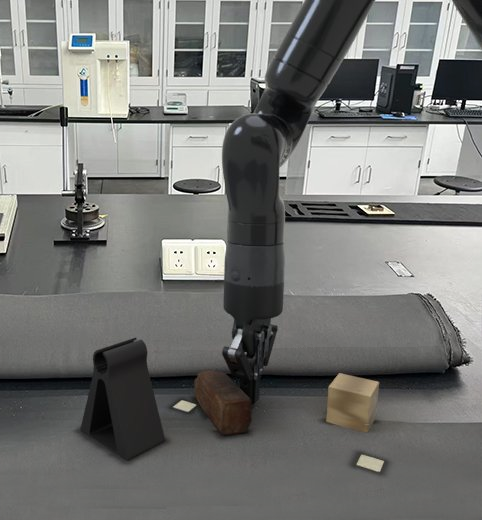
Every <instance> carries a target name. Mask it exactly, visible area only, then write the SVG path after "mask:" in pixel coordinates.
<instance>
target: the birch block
mask: <svg viewBox="0 0 482 520" xmlns="http://www.w3.org/2000/svg"><path fill="white" fill-rule="evenodd" d="M379 390H380V381H376V380H372V379H369V378H368V379H367V378H363V377H360V376H359V377H358V376H354V375H350V374H346V373H341V372H339V373H338V374H337V376H336V377H335V378H334V379H333V381H332V382H331V383H329V385H328V390H327V405H326V416H325V417H326V419H325V422H326V423H328V424H332V425H337V426H340V427H343V428H347V429H351V430H354V431H358V432H361V433H365V434H368V433H369V431H370V429H371V427H372V426H373V423H374V421H376V418H377V410H378V399H379ZM365 424H369V425H365Z"/></svg>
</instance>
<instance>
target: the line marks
mask: <svg viewBox="0 0 482 520" xmlns="http://www.w3.org/2000/svg"><path fill="white" fill-rule="evenodd" d="M195 407H197V404H196V403H192V402H189V401H186V400H183V399H182V400H180V401H179V402H177V403H176V404H175V405H174V406H172V408H174V409H177V410H179V411H183V412H185V413H189V412H190V411H192V410H193V409H195ZM384 463H385V461H384V460H381V459H378V458H375V457H372V456H368V455H365V454H360V457H359V459H358V460H357V463H356V466H358V467H362V468H365V469H368V470H371V471H374V472H377V473H380V472H381V470H382V468H383V466H384Z"/></svg>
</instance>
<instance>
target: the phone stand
mask: <svg viewBox="0 0 482 520" xmlns="http://www.w3.org/2000/svg"><path fill="white" fill-rule="evenodd" d="M92 365H93V371H92V372H93V373H92V378H91V382H90V386H89V390H88V395H87V399H86V402H85V408H84V412H83V416H82V419H81V421H82V422H81V425H80V428H79V429H80V432H81V433H83V434H85V435H86V436H88V437H89V438H91V439H92V440H94V441H95V442H97V443H98V444H100V445H101V446H103V447H105V448H107V449H108V450H109V451H111V452H112V453H114V454H116V455H118V456H119V457H121V459H124V460H125V461H126V462H129V461H130V460H132V459H134V458H136V457H138V456H139V455H141V454H143V453H145V452H147V451H149V450H151V449H152V448H155V447H157V446H159V445H160V444H162V443H164V442H166V437H165V433H164V429H163V426H162V425H163V424H162V421H161V417H160V413H159V409H158V405H157V400H156V397H155V392H154V388H153V384H152V379H151V376H150V372H149V368H148V348H147V345H146V343H145V342H144V340H143V339H142V338H140V339H137V337H133V338H129V339H126V340H124V341H121V342H117V343H115V344H112V345H108V346H106V347H102V348H99V349H96V350H95V351H94V352H93V355H92Z"/></svg>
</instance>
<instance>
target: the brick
mask: <svg viewBox="0 0 482 520" xmlns="http://www.w3.org/2000/svg"><path fill="white" fill-rule="evenodd" d="M196 376H197V377H195V379H194V382H193V383H194V384H193V386H194V394H193V395H194V397H195V399H196V401H197V402H198V404H199V406H200V407H201V409H202V410H203V412H204V413H205V414H206V416H207V417H208V418H209V420H210V421H211V423H212V424H213V426H214V428H216V429H217V431H218V433H220V435H221V436H223V437H226V436H233V435H241V434H242V435H243V434H247V433H248V431H249V427H250V424H251V423H252V418H253V417H252V409H253V408H252V406H253V405H252V404H251V400H250V398H249V397H248V396H247V395H246V394H245V393H244V392H243V391H242V390H241V389H240V386H238V384H236V383H235V381H234V380H233V379H232V378H231V377H230V376H228V374H227V373H225V372H224V371H219V370H202V371H199V372H198V373H197V375H196Z"/></svg>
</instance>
